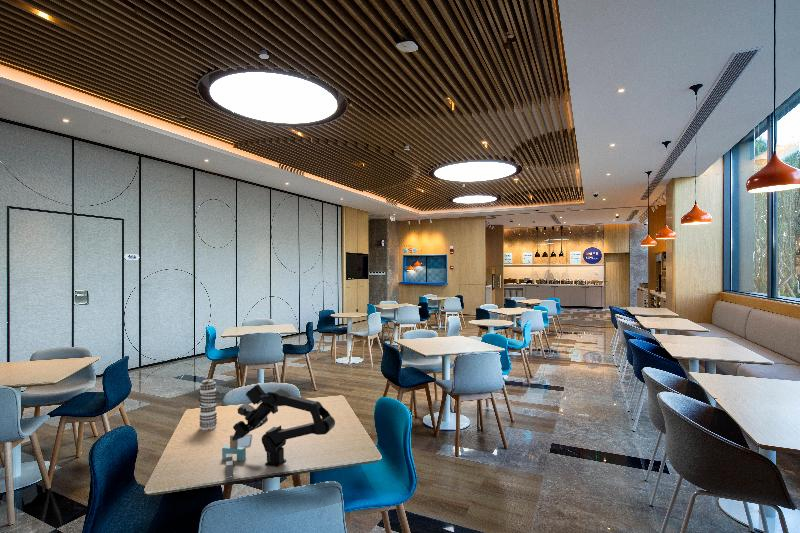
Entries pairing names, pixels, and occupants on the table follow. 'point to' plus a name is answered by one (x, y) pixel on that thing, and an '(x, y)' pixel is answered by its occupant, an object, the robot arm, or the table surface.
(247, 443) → the smartphone
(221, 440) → the table surface
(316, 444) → the table surface
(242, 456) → the blue brown t-shaped block
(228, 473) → the slotted bar
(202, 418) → the decorative candle
